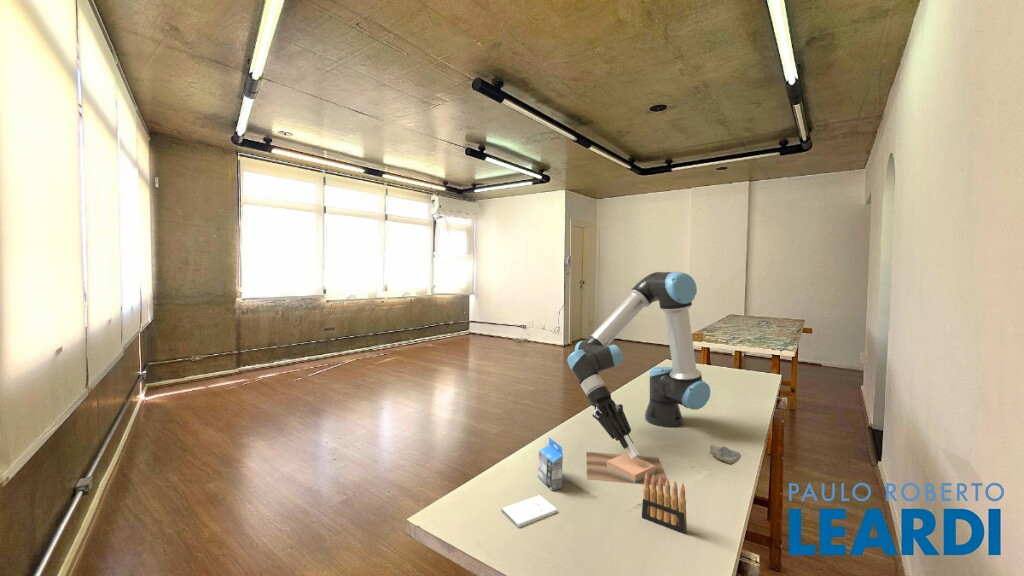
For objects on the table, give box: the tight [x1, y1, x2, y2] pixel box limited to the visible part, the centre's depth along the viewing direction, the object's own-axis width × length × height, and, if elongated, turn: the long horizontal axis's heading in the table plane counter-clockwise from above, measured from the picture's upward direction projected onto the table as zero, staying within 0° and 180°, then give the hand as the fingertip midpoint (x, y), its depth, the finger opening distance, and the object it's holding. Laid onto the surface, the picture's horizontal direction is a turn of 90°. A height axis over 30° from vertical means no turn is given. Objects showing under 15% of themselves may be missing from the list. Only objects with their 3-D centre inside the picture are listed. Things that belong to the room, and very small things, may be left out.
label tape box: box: [537, 436, 564, 491], centre depth 121 cm, size 9×4×12 cm, turn 23°
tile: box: [607, 452, 656, 482], centre depth 127 cm, size 2×10×11 cm
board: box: [586, 451, 668, 487], centre depth 129 cm, size 19×24×1 cm
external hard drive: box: [500, 495, 558, 529], centre depth 107 cm, size 2×8×12 cm
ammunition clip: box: [641, 472, 688, 535], centre depth 101 cm, size 11×2×12 cm, turn 52°
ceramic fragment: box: [709, 444, 741, 465], centre depth 140 cm, size 11×3×10 cm
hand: (635, 456), depth 126 cm, fingers closed
